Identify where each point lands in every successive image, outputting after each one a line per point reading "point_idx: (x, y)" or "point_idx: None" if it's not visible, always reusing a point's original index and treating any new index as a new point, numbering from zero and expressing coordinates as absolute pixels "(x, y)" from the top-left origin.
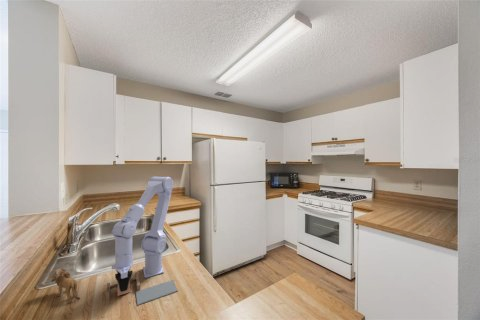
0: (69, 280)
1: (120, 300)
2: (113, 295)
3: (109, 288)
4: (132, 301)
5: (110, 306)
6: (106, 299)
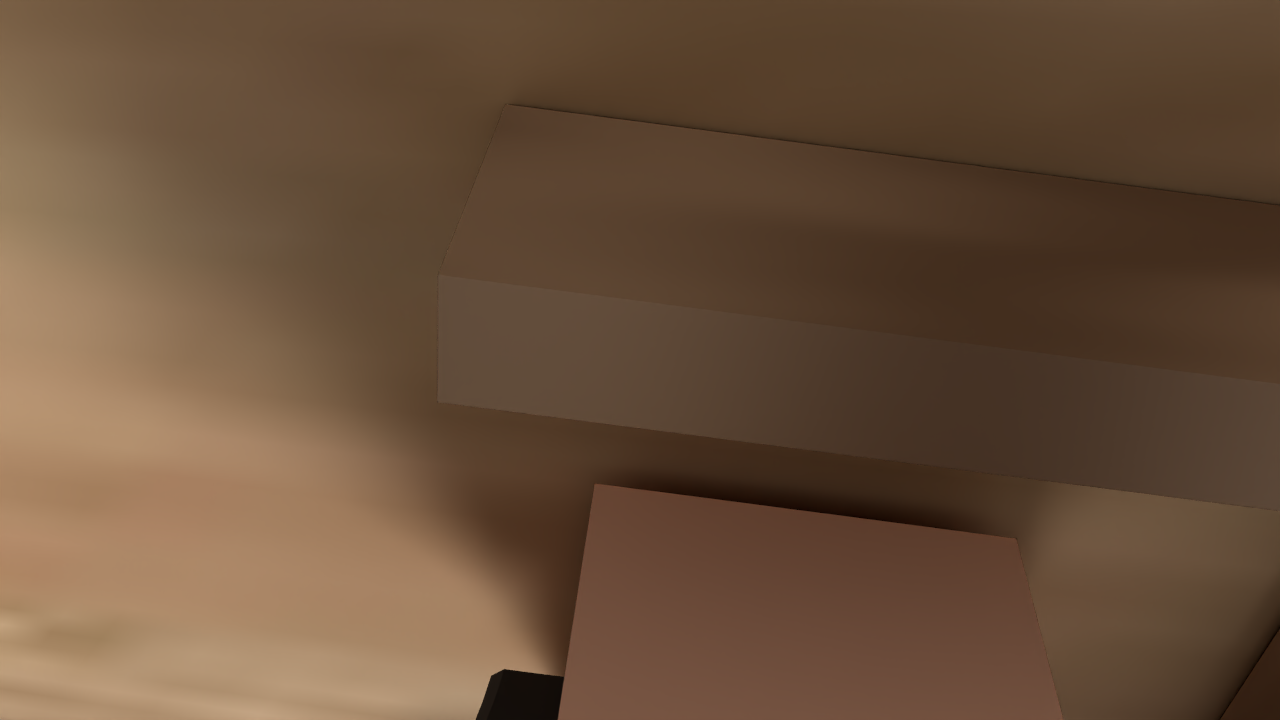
0: None
1: (319, 489)
2: None
3: (1014, 462)
4: (94, 684)
5: (118, 212)
6: (491, 174)
